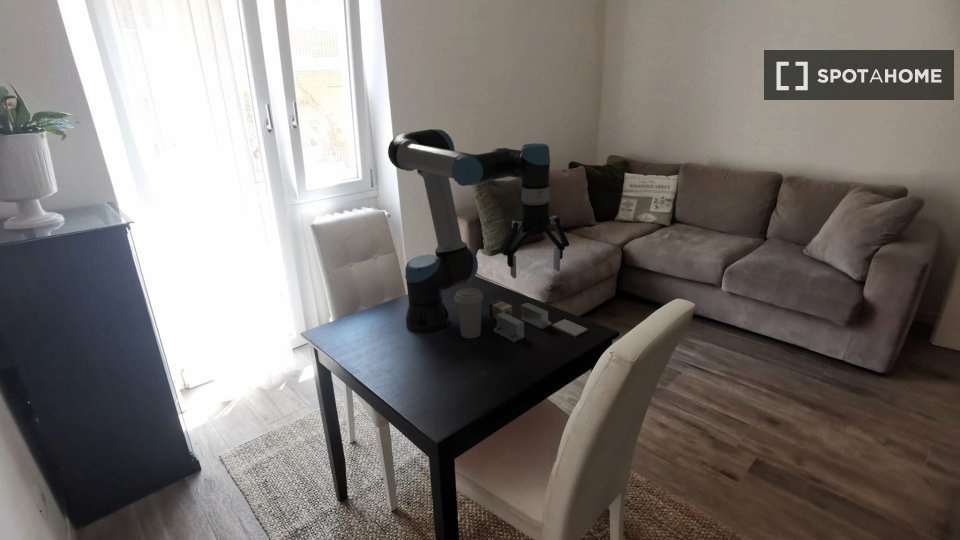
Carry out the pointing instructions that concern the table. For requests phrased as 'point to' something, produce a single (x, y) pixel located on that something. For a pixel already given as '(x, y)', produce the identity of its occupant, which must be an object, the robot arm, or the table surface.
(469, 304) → the coffee cup
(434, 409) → the table surface
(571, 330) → the mat
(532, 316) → the dark grey boxy pieces
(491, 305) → the tan piece
